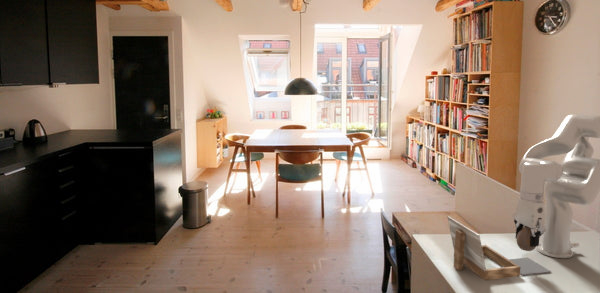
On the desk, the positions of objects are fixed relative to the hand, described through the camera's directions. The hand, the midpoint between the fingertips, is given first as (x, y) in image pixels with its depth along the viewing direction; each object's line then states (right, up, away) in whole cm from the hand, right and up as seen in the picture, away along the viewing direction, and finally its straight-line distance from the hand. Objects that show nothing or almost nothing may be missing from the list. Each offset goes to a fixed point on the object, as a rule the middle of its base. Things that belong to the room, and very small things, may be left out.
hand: (526, 241), depth 156 cm
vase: (0, -3, 0) cm, 3 cm away
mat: (0, -10, +2) cm, 10 cm away
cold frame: (-17, -10, +3) cm, 20 cm away
